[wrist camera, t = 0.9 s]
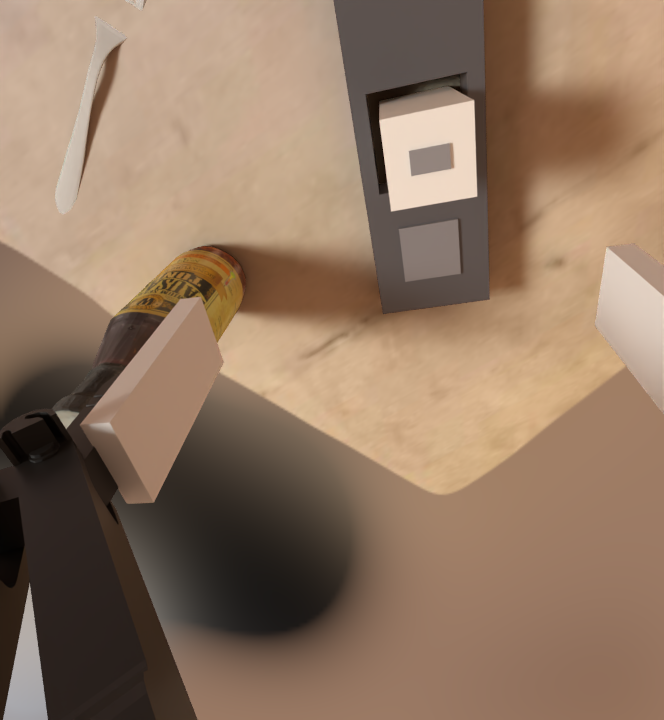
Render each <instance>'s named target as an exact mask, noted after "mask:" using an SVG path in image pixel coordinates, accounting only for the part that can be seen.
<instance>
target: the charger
mask: <svg viewBox="0 0 664 720" xmlns="http://www.w3.org/2000/svg"><path fill="white" fill-rule="evenodd" d="M379 122H380V130H381V137H382V145H383V153H384V160H385V168H386V176H387V183H388V191H389V199H390V206H391V212H392V211H397V210H403V209H409V208H414V207H420V206H426V205H432V204H437V203H443V202H449V201H454V200H460V199H466V198H472V197H477V173H476V142H475V111H474V100H473V99H471V98H469V97H468V96H466V95H464V94H462V93H460V92H458V91H457V90H455V89H453V88H451V87H449V86H446V87H441V88H437V89H432V90H428V91H423V92H418V93H414V94H409V95H405V96H400V97H396V98H391V99H386V100H382V101H379Z"/></svg>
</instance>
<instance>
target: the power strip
mask: <svg viewBox="0 0 664 720" xmlns="http://www.w3.org/2000/svg"><path fill="white" fill-rule="evenodd" d="M334 6H335V12H336V19H337V25H338V31H339V38H340V44H341V50H342V57H343V63H344V69H345V76H346V82H347V88H348V95H349V101H350V107H351V114H352V120H353V126H354V133H355V139H356V145H357V152H358V158H359V164H360V171H361V177H362V183H363V190H364V196H365V202H366V209H367V215H368V221H369V228H370V234H371V240H372V247H373V253H374V260H375V266H376V272H377V279H378V285H379V291H380V298H381V304H382V310H383V314H386V313H394V312H401V311H408V310H416V309H423V308H430V307H438V306H445V305H452V304H460V303H467V302H474V301H482V300H489V299H490V298H489V250H488V202H487V154H486V106H485V58H484V10H483V0H334ZM455 74H460V88H461V93H462V94H464V95H466V96H468V97H469V98H471V99H473V100H474V111H475V142H476V173H477V197H472V198H466V199H460V200H454V201H449V202H443V203H437V204H432V205H426V206H420V207H414V208H409V209H403V210H397V211H392V212H391V206H390V199H389V191H388V183H382V184H379V178H378V171H377V163H376V156H375V149H374V142H373V135H372V128H371V120H370V113H369V106H368V99H367V94H370V93H374V92H379V91H383V90H388V89H392V88H397V87H401V86H406V85H410V84H415V83H419V82H424V81H428V80H433V79H437V78H442V77H446V76H451V75H455Z"/></svg>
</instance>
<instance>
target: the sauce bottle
mask: <svg viewBox="0 0 664 720" xmlns="http://www.w3.org/2000/svg"><path fill="white" fill-rule="evenodd" d="M245 288H246V280H245V275H244V272H243V270H242V268H241V266H240V265H239V263H238V262H237V261H236V260H235V259H234V258H233V257H232V256H231V255H229V254H227V253H226V252H224V251H222V250H220V249H217V248H214V247H207V246H202V247H197V248H195V249H192V250H189V251H188V252H185V253H182V254H181V255H179V256H178V257H177V258H176V259H175V260H173V261H172V262H171V263H170V264H169V265H168V266H167V267H166V268H165V269H164V270H163V271H162V272H161V273H160V274H159V275H158V276H157V277H156V278H155V279H154V280H152V281H151V282H150V283H149V284H148V285H147V286H146V287H145V288H144V289H143V290H142V291H141V292H140V293H139V294H138V295H136V296H135V297H134V298H133V299H132V300H131V301H130V302H129V303H128V304H127V305H126V306H125V307H124V308H123V309H122V310H121V311H120V312H119V313H118V314H116V315H115V316H114V317H113V318H112V319H111V321H110V323H109V325H108V328H107V330H106V333H105V335H104V338H103V340H102V343H101V345H100V348H99V350H98V353H97V355H96V358H95V360H94V363H93V369H92V370H91V371H90V372H89V373H88V374H87V376H86V378H85V380H84V381H83V382H82V383H81V384H80V385H79V386H78V387H77V388H76V389H75V390H74V391H73V392H72V394H71V395H69V396H66V397H64V398H62V399H61V400H60V401H58V402H57V403H56V404H55V406H54V407H53V408H52V410H54V411H55V412H56V414H57V415H58V417H59V418H60V420H61V422H62V423H63V425H64V426H65V428H66V429H67V427H68V426H69V425H70V424H71V423H72V421H73V420H74V419H75V418H76V417H77V415H78V414H79V413H80V412H81V411H82V409H83V408H85V407H86V405H87V403H88V402H89V401H90V400H91V398H94V395H95V394H96V392H97V391H98V390H99V389H100V388H101V386H102V385H103V384H104V383H106V382H107V381H109V380H110V379H111V378H113V377H114V376H115V375H117V374H121V373H122V372H123V370H124V369H125V368H126V367H127V365H128V364H129V363H130V362H131V360H132V359H133V358H134V357H135V355H136V354H137V353H138V352H139V350H140V349H141V348H142V347H143V345H144V344H145V343H146V342H147V340H148V339H149V338H150V337H151V335H152V334H153V333H154V332H155V330H156V329H157V328H158V327H159V325H160V324H161V323H162V322H163V320H164V319H165V318H166V317H167V315H168V314H169V313H170V312H171V310H172V309H173V308H174V307H175V305H176V304H177V303H178V302H179V300H180V299H186V298H194V297H201V299H202V301H203V304H204V307H205V310H206V313H207V316H208V319H209V321H210V324H211V327H212V330H213V333H214V336H215V339H216V341H217V342H218V341H219V339H220V337H221V336H222V334H223V333H224V331H225V330H226V328H227V326H228V325H229V323H230V322H231V320H232V318H233V317H234V315H235V314H236V312H237V310H238V308H239V307H240V305H241V302H242V300H243V296H244V293H245Z"/></svg>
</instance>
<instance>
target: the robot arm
mask: <svg viewBox="0 0 664 720" xmlns="http://www.w3.org/2000/svg"><path fill="white" fill-rule="evenodd" d="M595 327H596V328H597V329H598V331H599V332H600V333H601V334H602V336H603V337H604V338H605V340H606V341H607V342H608V343H609V345H610V346H611V347H612V349H613V350H614V351H615V352H616V354H617V355H618V356H619V357H620V359H621V360H622V361H623V363H624V364H625V365H626V366H627V368H628V369H629V370H630V372H631V373H632V374H633V375H634V377H635V378H636V379H637V381H638V382H639V383H640V384H641V386H642V387H643V388H644V390H645V391H646V392H647V393H648V395H649V396H650V397H651V399H652V400H653V401H654V402H655V404H656V405H657V406H658V408H659V409H660V410H661V411H662V413H663V414H664V266H663V265H662V264H661V263H659V262H658V261H657V260H656V259H654V258H653V257H652V256H650V255H649V254H648V253H646V252H645V251H644V250H642V249H641V248H640V247H638V246H637V245H636V244H634V243H632V244H624V245H616V246H608V247H607V248H606V255H605V261H604V268H603V274H602V281H601V288H600V294H599V301H598V307H597V314H596V321H595ZM223 363H224V361H223V359H222V356H221V353H220V350H219V347H218V344H217V341H216V339H215V336H214V333H213V330H212V327H211V324H210V321H209V319H208V316H207V313H206V310H205V307H204V304H203V301H202V299H201V297H194V298H186V299H180V300H179V302H178V303H177V304H176V305H175V307H174V308H173V309H172V310H171V312H170V313H169V314H168V315H167V317H166V318H165V319H164V320H163V322H162V323H161V324H160V325H159V327H158V328H157V329H156V330H155V332H154V333H153V334H152V335H151V337H150V338H149V339H148V340H147V342H146V343H145V344H144V345H143V347H142V348H141V349H140V350H139V352H138V353H137V354H136V355H135V357H134V358H133V359H132V360H131V362H130V363H129V364H128V365H127V367H126V368H125V369H124V370H123V372H122V373H121V374H117V375H115V376H114V377H113V378H111V379H110V380H109V381H107V382H106V383H104V384H103V385H102V386H101V388H100V389H99V390H98V391H97V392H96V394H95V395H94V398H91V400H90V401H89V402H88V403H87V405H86V407H85V408H83V409H82V411H81V412H80V413H79V414H78V415H77V417H76V418H75V419H74V420H73V421H72V423H71V424H70V425H69V426H68V427H67V429H66V428H65V426H64V425H63V423H62V422H61V420H60V418H59V417H58V415H57V414H56V412H55V411H54V410H52V409H40V410H34V411H32V412H29V413H26V414H23V415H22V416H20V417H18V418H16V419H14V420H12V421H11V422H10V423H8V424H7V425H6V426H5V427H3V428H2V430H1V431H0V448H1V449H2V450H3V452H4V453H5V454H6V456H7V457H8V458H9V460H10V461H11V462H12V464H13V465H14V466H11V467H8V468H4V469H1V470H0V720H3V715H4V711H5V706H6V701H7V696H8V691H9V686H10V680H11V675H12V670H13V665H14V660H15V655H16V650H17V644H18V639H19V634H20V629H21V624H22V619H23V614H24V609H25V603H26V598H27V593H28V588H29V583H30V587H31V594H32V602H33V609H34V617H35V625H36V632H37V640H38V647H39V655H40V661H41V669H42V677H43V685H44V692H45V700H46V708H47V715H48V720H197V717H196V715H195V712H194V709H193V707H192V704H191V702H190V699H189V696H188V694H187V691H186V689H185V686H184V683H183V681H182V678H181V676H180V673H179V670H178V668H177V665H176V663H175V660H174V658H173V655H172V652H171V650H170V647H169V645H168V642H167V639H166V637H165V634H164V632H163V629H162V627H161V624H160V622H159V619H158V616H157V614H156V611H155V608H154V606H153V604H152V601H151V598H150V596H149V593H148V590H147V588H146V585H145V583H144V580H143V578H142V575H141V572H140V570H139V567H138V565H137V562H136V559H135V557H134V554H133V552H132V549H131V547H130V544H129V541H128V539H127V536H126V533H125V531H124V528H123V526H122V523H121V521H120V518H119V515H118V513H117V510H116V508H115V507H114V505H113V503H112V502H111V499H112V497H113V495H114V494H115V492H116V490H117V489H119V491H120V493H121V494H122V496H123V498H124V499H125V501H126V503H127V504H131V503H152V502H154V501H155V499H156V497H157V495H158V493H159V491H160V489H161V487H162V485H163V483H164V481H165V479H166V477H167V475H168V472H169V471H170V469H171V467H172V464H173V463H174V461H175V459H176V457H177V454H178V453H179V451H180V449H181V447H182V445H183V443H184V441H185V439H186V437H187V434H188V433H189V431H190V429H191V427H192V425H193V423H194V421H195V419H196V417H197V415H198V412H199V411H200V409H201V407H202V405H203V403H204V401H205V399H206V397H207V395H208V393H209V390H210V389H211V387H212V385H213V383H214V381H215V379H216V377H217V375H218V373H219V371H220V369H221V367H222V365H223Z"/></svg>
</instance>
